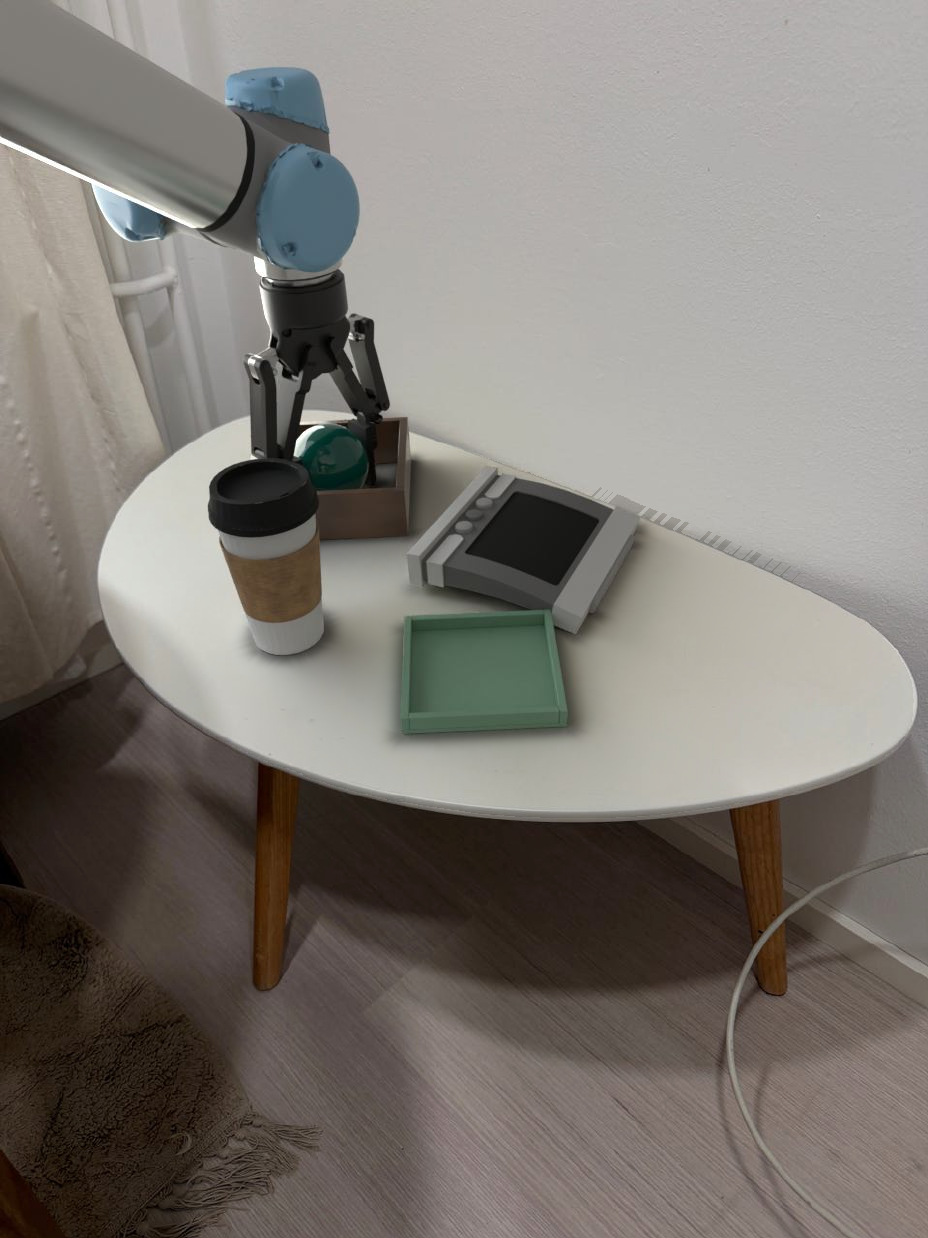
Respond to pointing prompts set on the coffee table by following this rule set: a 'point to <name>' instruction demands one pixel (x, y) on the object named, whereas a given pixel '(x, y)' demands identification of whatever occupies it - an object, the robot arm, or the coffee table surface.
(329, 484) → the sphere
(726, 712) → the coffee table surface
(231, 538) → the coffee cup
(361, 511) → the box
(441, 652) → the tray
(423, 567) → the alarm clock
